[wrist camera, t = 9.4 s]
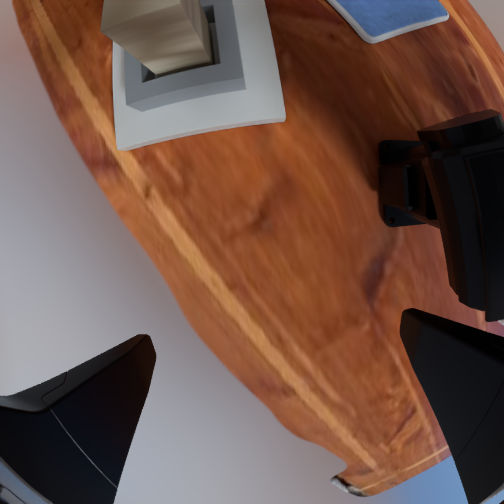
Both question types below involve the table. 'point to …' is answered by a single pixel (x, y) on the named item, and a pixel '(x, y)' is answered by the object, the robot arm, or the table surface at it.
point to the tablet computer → (389, 16)
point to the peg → (161, 33)
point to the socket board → (203, 83)
